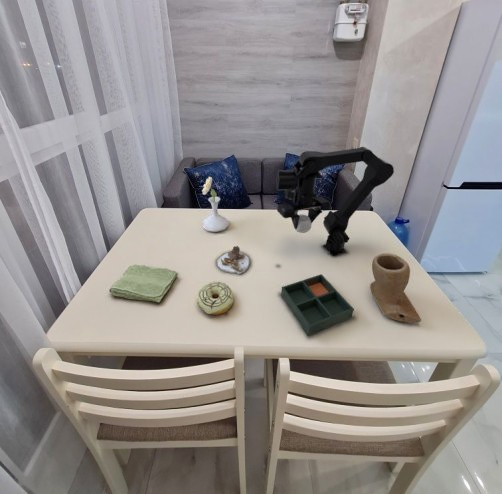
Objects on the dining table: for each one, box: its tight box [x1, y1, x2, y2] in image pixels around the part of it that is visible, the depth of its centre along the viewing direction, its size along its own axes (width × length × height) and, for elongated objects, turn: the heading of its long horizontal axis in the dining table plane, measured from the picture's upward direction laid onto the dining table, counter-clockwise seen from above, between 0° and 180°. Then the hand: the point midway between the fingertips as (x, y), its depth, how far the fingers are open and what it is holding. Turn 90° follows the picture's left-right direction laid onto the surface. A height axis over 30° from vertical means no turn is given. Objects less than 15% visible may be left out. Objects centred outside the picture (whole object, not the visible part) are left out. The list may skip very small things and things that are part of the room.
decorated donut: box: [196, 281, 234, 315], centre depth 78 cm, size 10×11×4 cm
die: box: [294, 213, 312, 234], centre depth 96 cm, size 5×5×5 cm
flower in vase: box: [201, 176, 229, 233], centre depth 110 cm, size 13×11×25 cm
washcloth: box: [108, 264, 179, 303], centre depth 84 cm, size 13×18×3 cm
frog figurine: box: [216, 245, 250, 275], centre depth 95 cm, size 12×12×4 cm
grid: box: [280, 273, 355, 337], centre depth 78 cm, size 15×15×3 cm
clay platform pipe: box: [370, 252, 422, 324], centre depth 76 cm, size 15×12×15 cm
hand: (301, 227), depth 97 cm, fingers closed on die, 5 cm apart
